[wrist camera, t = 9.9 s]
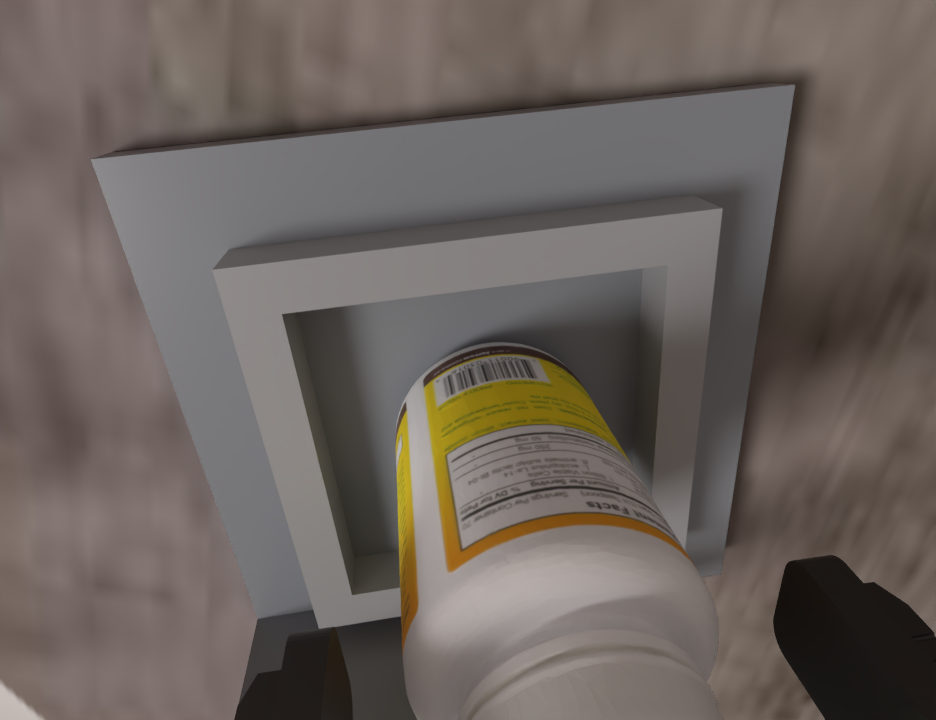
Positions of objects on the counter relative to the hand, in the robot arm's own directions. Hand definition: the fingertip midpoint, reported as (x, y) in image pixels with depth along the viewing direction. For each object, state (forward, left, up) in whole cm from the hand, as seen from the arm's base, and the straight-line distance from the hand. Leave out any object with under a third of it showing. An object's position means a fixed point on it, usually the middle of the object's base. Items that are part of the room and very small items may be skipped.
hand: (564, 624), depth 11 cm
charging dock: (0, 0, -8) cm, 8 cm away
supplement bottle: (0, 0, -8) cm, 8 cm away
